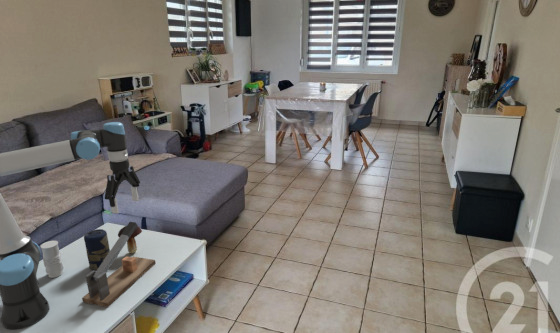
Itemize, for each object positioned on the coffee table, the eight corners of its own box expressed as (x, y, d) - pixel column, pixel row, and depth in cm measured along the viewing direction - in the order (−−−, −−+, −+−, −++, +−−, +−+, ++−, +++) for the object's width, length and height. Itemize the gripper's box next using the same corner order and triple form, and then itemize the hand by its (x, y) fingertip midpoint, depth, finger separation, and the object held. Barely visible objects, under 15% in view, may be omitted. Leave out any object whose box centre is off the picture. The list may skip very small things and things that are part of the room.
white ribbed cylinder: (44, 274, 166) (38, 244, 161) (61, 267, 171) (55, 238, 166) (49, 280, 161) (42, 250, 157) (66, 273, 166) (60, 244, 162)
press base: (82, 302, 147) (77, 276, 143) (133, 260, 176) (130, 237, 173) (107, 307, 144) (103, 281, 140) (155, 263, 173) (152, 241, 170)
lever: (92, 281, 146) (90, 278, 144) (131, 224, 166) (129, 221, 165) (100, 283, 145) (97, 280, 143) (138, 225, 165) (136, 222, 164)
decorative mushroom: (130, 260, 176) (126, 232, 171) (116, 254, 181) (111, 227, 177) (149, 250, 185) (145, 223, 180) (134, 244, 190) (131, 218, 186)
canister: (103, 272, 167) (96, 237, 161) (85, 270, 169) (78, 235, 163) (116, 261, 176) (110, 227, 170) (98, 259, 178) (92, 225, 172)
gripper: (105, 169, 140) (113, 219, 147) (144, 152, 163) (150, 196, 170) (89, 168, 142) (98, 217, 149) (130, 151, 165) (136, 195, 172)
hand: (125, 206), depth 159 cm, fingers open, 13 cm apart
